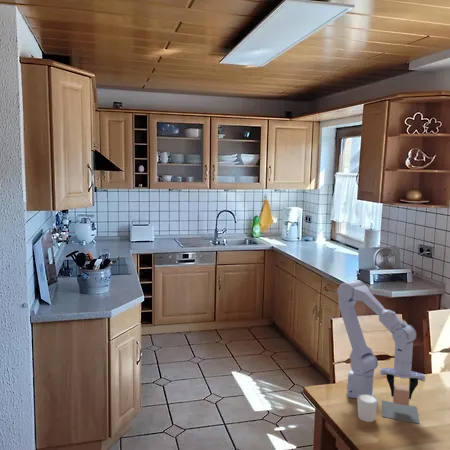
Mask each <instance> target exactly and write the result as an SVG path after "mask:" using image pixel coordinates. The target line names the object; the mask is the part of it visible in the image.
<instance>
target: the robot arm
mask: <svg viewBox="0 0 450 450" xmlns="http://www.w3.org/2000/svg"><path fill="white" fill-rule="evenodd" d="M336 294H337V296H338V308H339V311H340V315H341V318H342V320H343V323H344V324H343V325H344V326H345V330H346V333H347V337H348V340H349V343H350V346H351V352H350V354H349V358H350V369H351V370H349V369H348V375H347V376H348V377H347V384H346V390H347V393H346V395H347V397H348V398H353V399H357V396H358V395H360V394H369V395H372V396H374V394H375V393H374V392H375V391H374V389H373V388H374V376H375V375H374V374H375V369H377V367H378V365H379V362H378V361H379V360H378V359H377V357H376V356H375V354H374V352H373V350H372V348H370V347H369V346H367V343H366V340H365V338H364V335H363V331H362V328H361V325H360V322H359V318H358V316H357V312H356V309H355V304H356V303H357V302H363V303H364V304H365V305H366V306H367V307H368V308H369V309H371V310H372V311H373V312H374V313H375V314H376V315H378V320H379V322H380V323H381V324H382V325H383V326H384V327H385V328H386V329H387V330H388V331H389V333H391V334H392V335H391V336H392V339H393V341H394V358H393V359H394V363H393V364H394V365H393V367H389V368H388V367H380V370H379V371H380V374H379V375H381V376H386V380H387V382H388V385H389V389H390V394H391V397H393V396H394V384H395V377H398V378H399V379H409V383H408V386H409V392H410V393H409V400H411V399H412V395H413V393H414V391H415V389H416V388H417V386H418V385H419V381H421V382H425V381H426V376H425V374H424V373H421V372H417V371H413V370H412V368H413V367H412V365H413V364H412V363H413V350H414V347H413V346H414V341H415V340H416V339H417V335H418V334H417V331H416V329H415V327H413V325H411V324H406V322H405V321H403V320H402V319H401V318H400V317H398V316H397V313H396V312H395V311H394V310H391V309H386V308H385V307H384V306H383V305H382V303H381V302H380V301H378V299H377V298H376V297H375V296H374V295H373V293H371V291H370V290H369V287H368V286H367V285H366V284H365V283H364V282H363V281H362V280H359V279H356V280H353V281H347V282H342V283H341V284H340V285H339V286H338V287H337V290H336Z"/></svg>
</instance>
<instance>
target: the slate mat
mask: <svg viewBox="0 0 450 450" xmlns="http://www.w3.org/2000/svg"><path fill="white" fill-rule="evenodd" d="M381 417H382V418H385V419H391V420H396V421H402V422H408V423H413V424H417V425H418V424H419V425H420V419H419V418H420V417H419V413H418V407H417V406H416V405H410V404H409V406H407V405H401V404H396V403H393V401H387V400H381Z"/></svg>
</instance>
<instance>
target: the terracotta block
mask: <svg viewBox="0 0 450 450" xmlns="http://www.w3.org/2000/svg"><path fill="white" fill-rule="evenodd" d="M409 393H410V392H409V385H407V384H399V383H394V396H392V402H393V403H396V404H401V405H407V406H409V405H410V399H409Z"/></svg>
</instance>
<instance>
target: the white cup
mask: <svg viewBox="0 0 450 450" xmlns="http://www.w3.org/2000/svg"><path fill="white" fill-rule="evenodd" d="M356 400H357V417H358V419H360V420H361V421H363V422H367V423H372V422H374V421H375V420H376V416H377V409H378V403H379V399H378V398H377V397H376V396H374V395H373V396H372V395H369V394H360V395H358V396H357V398H356Z"/></svg>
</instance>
